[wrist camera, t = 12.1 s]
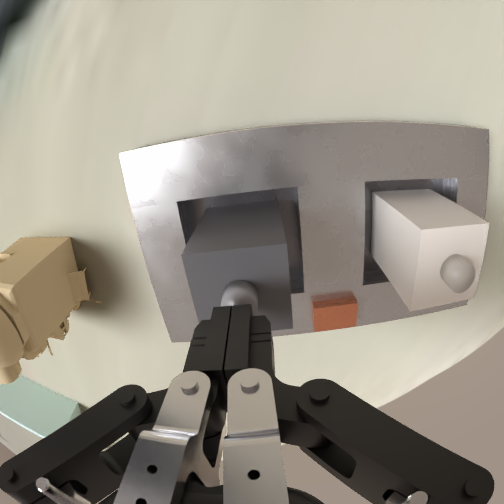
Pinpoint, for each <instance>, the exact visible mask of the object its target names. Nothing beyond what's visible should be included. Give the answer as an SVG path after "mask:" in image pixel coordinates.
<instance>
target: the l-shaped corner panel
mask: <svg viewBox="0 0 504 504" xmlns="http://www.w3.org/2000/svg"><path fill="white" fill-rule="evenodd" d="M0 413H1V414H2V415H4V416H5V417H7V418H9V419H10V420H12V421H14V422H15V423H17V424H19V425H20V426H22V427H24V428H25V429H27V430H29V431H31V432H33V433H34V434H36V435H38V436H40V437H42V438H45V437H47V436H48V435H50V434H51V433H53V432H54V431H56V430H57V429H59V428H60V427H62V426H64V425H65V424H67V423H68V422H70V421H71V420H73V419H74V418H76V417H77V416H79V415H80V414H81V411H80V407H79V404H78V402H77V401H74V400H72V399H70V398H67V397H65V396H63V395H61V394H58V393H56V392H54V391H52V390H50V389H48V388H46V387H44V386H42V385H40V384H38V383H36V382H34V381H32V380H30V379H28V378H26V377H24V376H22V375H21V374H19V378H17V379H16V380H15V381H14V382H12V383H9V384H2V383H1V385H0Z"/></svg>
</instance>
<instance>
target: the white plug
mask: <svg viewBox="0 0 504 504" xmlns="http://www.w3.org/2000/svg"><path fill="white" fill-rule="evenodd" d="M488 230H489V223H488V222H487V221H485V220H483V219H482V218H480V217H479V216H477V215H475V214H474V213H472V212H470V211H469V210H467V209H465V208H463V207H462V206H460V205H458V204H456V203H455V202H453V201H451V200H449V199H447V198H446V197H444V196H442V195H440V194H438V193H436V192H434V191H432V190H431V189H415V190H395V191H378V192H372V240H371V256H372V257H373V258H374V260H375V261H376V262H377V264H378V265H379V267H380V268H381V269H382V271H383V272H384V274H385V275H386V277H387V278H388V279H389V281H390V282H391V284H392V285H393V287H394V288H395V290H396V291H397V293H398V294H399V296H400V297H401V299H402V300H403V302H404V303H405V305H406V306H407V308H408V309H409V311H415V310H420V309H426V308H430V307H435V306H440V305H445V304H449V303H454V302H458V301H463V300H467V299H471V298H474V296H475V292H476V288H477V284H478V280H479V276H480V272H481V267H482V263H483V258H484V253H485V247H486V242H487V236H488Z"/></svg>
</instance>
